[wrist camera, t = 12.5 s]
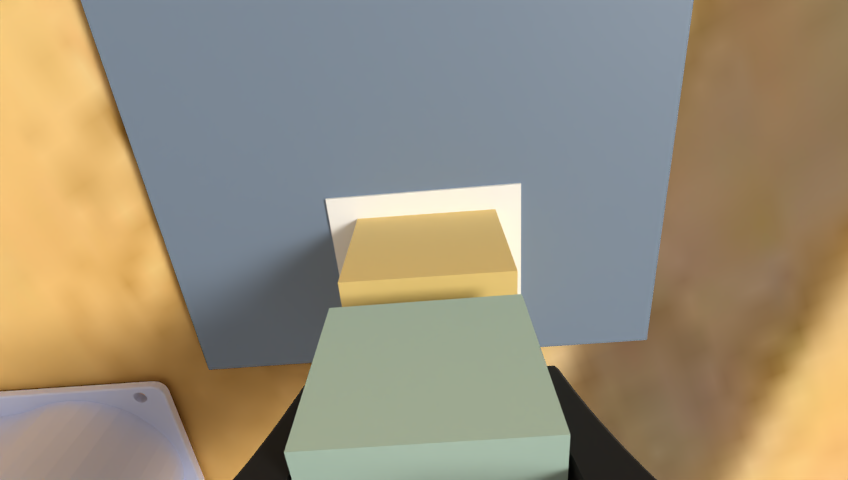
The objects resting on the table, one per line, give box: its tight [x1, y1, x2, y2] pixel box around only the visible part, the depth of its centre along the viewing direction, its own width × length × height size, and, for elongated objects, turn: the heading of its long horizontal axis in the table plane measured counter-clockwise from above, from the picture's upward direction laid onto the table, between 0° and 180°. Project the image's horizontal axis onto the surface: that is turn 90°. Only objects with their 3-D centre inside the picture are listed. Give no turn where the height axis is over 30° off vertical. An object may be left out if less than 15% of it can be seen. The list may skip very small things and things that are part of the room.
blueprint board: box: [81, 0, 694, 370], centre depth 15 cm, size 17×17×1 cm
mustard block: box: [338, 209, 518, 307], centre depth 15 cm, size 5×5×4 cm
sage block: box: [284, 294, 570, 480], centre depth 11 cm, size 5×5×4 cm
